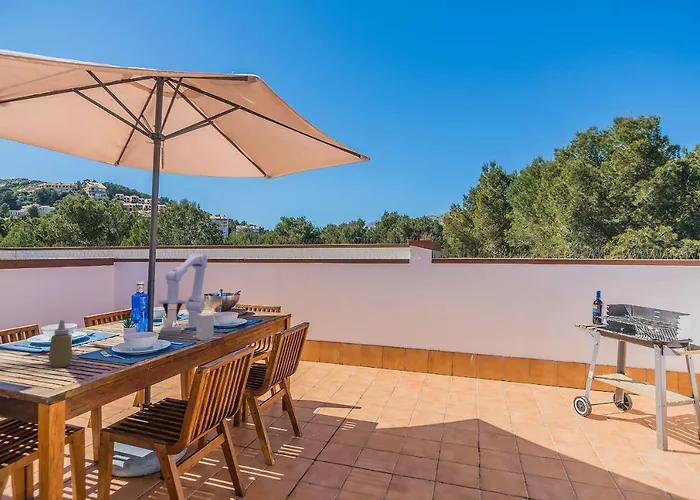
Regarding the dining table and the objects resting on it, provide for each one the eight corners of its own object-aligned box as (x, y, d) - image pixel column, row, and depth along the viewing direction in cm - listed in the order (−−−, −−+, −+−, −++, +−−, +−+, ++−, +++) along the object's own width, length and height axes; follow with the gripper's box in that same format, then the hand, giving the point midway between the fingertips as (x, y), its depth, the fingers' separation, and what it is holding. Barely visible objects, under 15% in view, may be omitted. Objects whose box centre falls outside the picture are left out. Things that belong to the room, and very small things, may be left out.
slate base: (161, 331, 254) (162, 327, 254) (180, 331, 257) (181, 327, 257) (160, 335, 244) (160, 330, 244) (179, 334, 247) (179, 330, 247)
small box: (213, 339, 239) (214, 314, 239) (201, 340, 235) (202, 315, 235) (207, 336, 245) (208, 312, 245) (195, 337, 241) (196, 313, 241)
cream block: (167, 319, 252) (168, 309, 252) (176, 319, 254) (176, 309, 253) (167, 321, 248) (167, 310, 248) (175, 321, 249) (176, 310, 249)
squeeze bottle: (45, 369, 173) (47, 322, 173) (50, 364, 180) (52, 319, 180) (70, 368, 176) (72, 321, 176) (73, 362, 183) (75, 318, 183)
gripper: (158, 293, 245) (157, 318, 245) (186, 293, 249) (185, 318, 249) (159, 292, 252) (158, 316, 252) (187, 292, 256) (186, 316, 256)
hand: (172, 317), depth 251 cm, fingers closed on cream block, 4 cm apart
